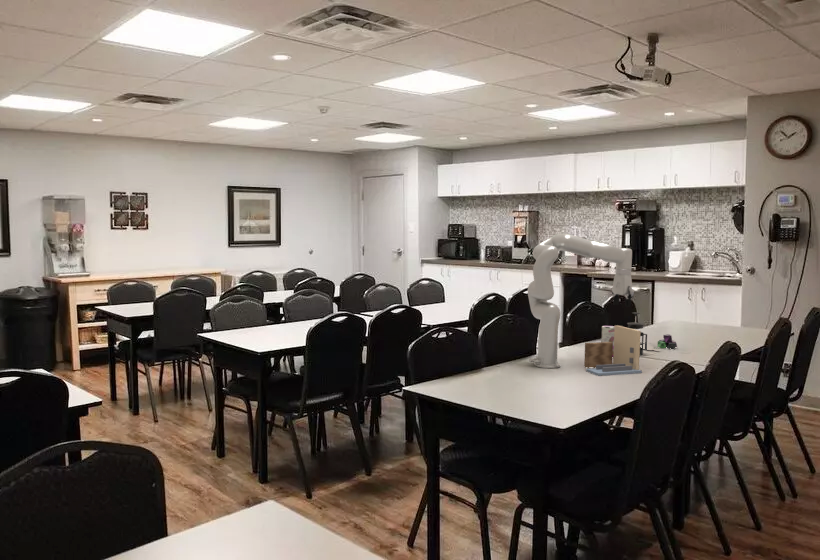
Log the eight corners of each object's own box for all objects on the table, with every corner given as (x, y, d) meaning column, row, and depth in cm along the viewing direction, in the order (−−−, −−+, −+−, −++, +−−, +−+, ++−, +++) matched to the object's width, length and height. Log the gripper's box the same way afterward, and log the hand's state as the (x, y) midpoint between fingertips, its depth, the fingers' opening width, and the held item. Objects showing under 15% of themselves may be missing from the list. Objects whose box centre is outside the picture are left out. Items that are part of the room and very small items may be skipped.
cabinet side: (598, 375, 305) (599, 333, 304) (574, 367, 324) (576, 327, 323) (641, 373, 313) (643, 331, 311) (616, 364, 332) (617, 325, 330)
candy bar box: (623, 357, 351) (624, 326, 350) (621, 358, 347) (623, 328, 346) (602, 355, 357) (603, 325, 355) (600, 356, 352) (601, 326, 351)
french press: (621, 354, 360) (623, 312, 358) (628, 351, 367) (629, 310, 365) (642, 356, 352) (644, 314, 351) (649, 354, 360) (650, 312, 358)
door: (587, 368, 322) (588, 344, 322) (584, 366, 325) (585, 343, 324) (613, 366, 327) (614, 342, 326) (609, 365, 330) (610, 341, 329)
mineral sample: (692, 356, 358) (693, 339, 357) (626, 348, 376) (627, 333, 376) (701, 350, 387) (702, 335, 387) (640, 344, 405) (640, 329, 405)
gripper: (606, 271, 341) (605, 304, 342) (627, 273, 325) (626, 308, 326) (619, 271, 343) (617, 303, 345) (640, 273, 327) (639, 307, 328)
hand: (621, 305), depth 335 cm, fingers open, 9 cm apart
